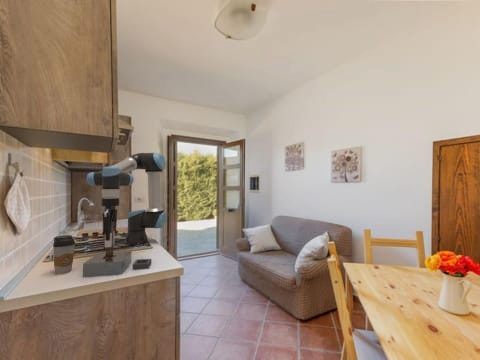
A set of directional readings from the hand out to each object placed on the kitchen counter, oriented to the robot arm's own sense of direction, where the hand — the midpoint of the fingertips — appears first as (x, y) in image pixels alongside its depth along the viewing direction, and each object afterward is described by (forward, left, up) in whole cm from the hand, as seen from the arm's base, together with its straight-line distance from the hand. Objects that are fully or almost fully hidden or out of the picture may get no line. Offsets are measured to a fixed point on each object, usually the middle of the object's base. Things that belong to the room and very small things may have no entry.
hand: (109, 245), depth 108 cm
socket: (-1, +15, -11) cm, 19 cm away
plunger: (0, 0, -9) cm, 9 cm away
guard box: (0, 0, -11) cm, 11 cm away
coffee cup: (-1, -20, -12) cm, 23 cm away
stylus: (0, 0, -5) cm, 5 cm away
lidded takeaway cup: (-24, -32, -12) cm, 42 cm away
